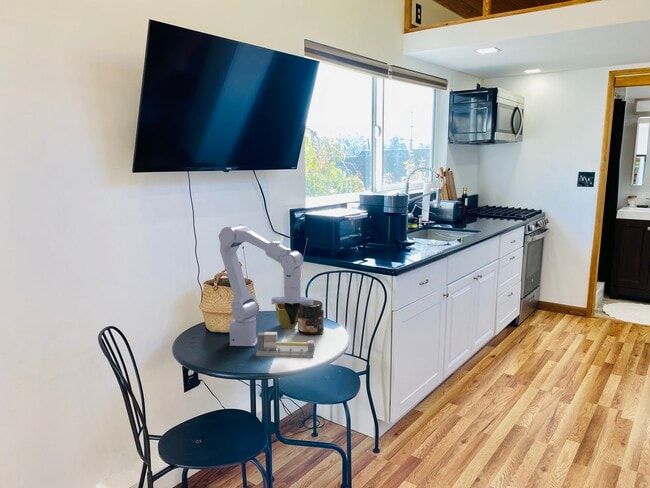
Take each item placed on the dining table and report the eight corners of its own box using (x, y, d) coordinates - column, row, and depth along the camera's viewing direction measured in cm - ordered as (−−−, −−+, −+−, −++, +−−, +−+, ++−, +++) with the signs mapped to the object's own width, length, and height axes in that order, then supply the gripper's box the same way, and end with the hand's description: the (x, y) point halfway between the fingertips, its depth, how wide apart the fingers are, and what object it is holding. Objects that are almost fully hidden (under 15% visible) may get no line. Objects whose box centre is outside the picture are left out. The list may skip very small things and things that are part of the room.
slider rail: (255, 356, 171) (255, 338, 170) (260, 346, 180) (260, 329, 179) (313, 357, 170) (313, 339, 169) (315, 347, 179) (315, 330, 178)
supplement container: (294, 335, 191) (294, 305, 189) (301, 326, 202) (301, 298, 200) (320, 337, 189) (320, 307, 187) (326, 328, 199) (326, 300, 197)
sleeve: (263, 349, 174) (263, 334, 173) (265, 346, 177) (265, 331, 176) (276, 350, 174) (276, 334, 173) (277, 347, 177) (277, 331, 176)
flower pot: (300, 329, 199) (300, 307, 197) (279, 331, 197) (278, 309, 195) (295, 322, 207) (295, 301, 206) (275, 324, 205) (275, 303, 203)
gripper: (269, 288, 168) (270, 326, 170) (312, 289, 167) (312, 327, 169) (273, 283, 175) (273, 320, 177) (313, 284, 174) (313, 321, 176)
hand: (292, 323), depth 174 cm, fingers closed
